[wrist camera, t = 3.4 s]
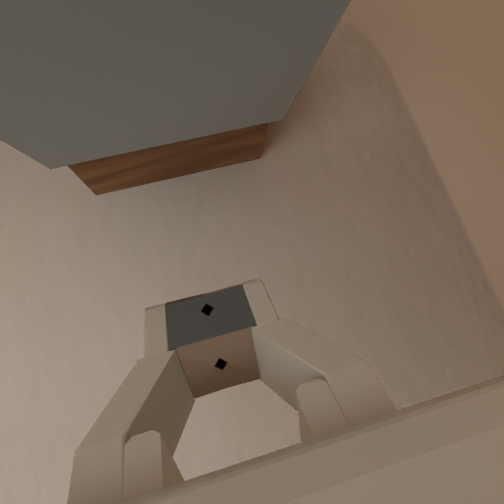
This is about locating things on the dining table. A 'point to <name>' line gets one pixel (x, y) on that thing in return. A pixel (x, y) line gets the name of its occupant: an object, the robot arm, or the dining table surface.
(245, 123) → the lid
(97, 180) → the box
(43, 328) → the dining table surface
